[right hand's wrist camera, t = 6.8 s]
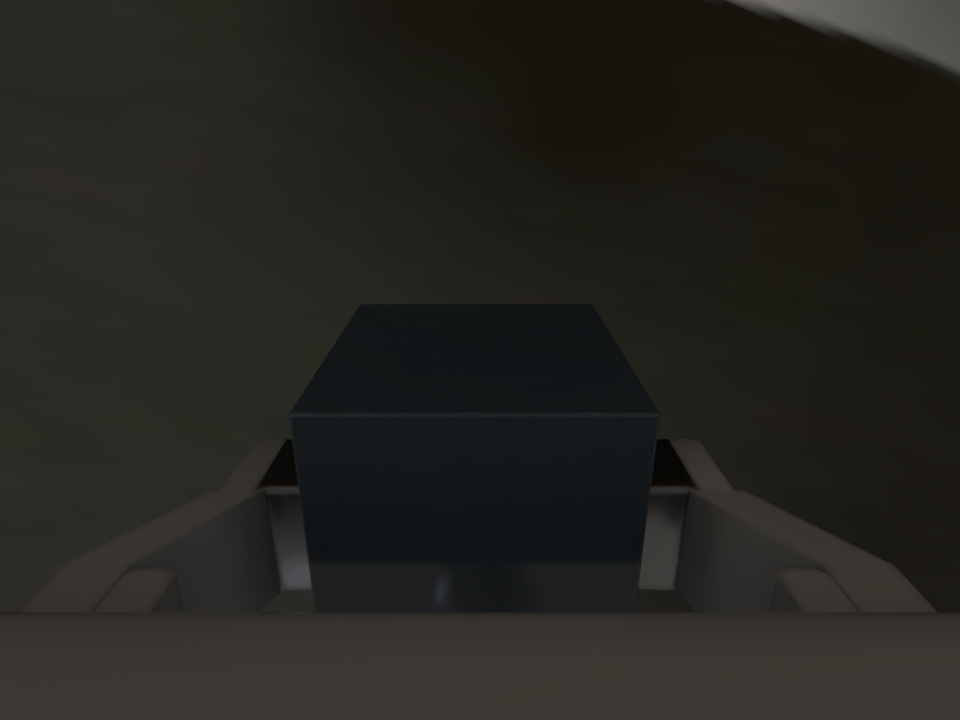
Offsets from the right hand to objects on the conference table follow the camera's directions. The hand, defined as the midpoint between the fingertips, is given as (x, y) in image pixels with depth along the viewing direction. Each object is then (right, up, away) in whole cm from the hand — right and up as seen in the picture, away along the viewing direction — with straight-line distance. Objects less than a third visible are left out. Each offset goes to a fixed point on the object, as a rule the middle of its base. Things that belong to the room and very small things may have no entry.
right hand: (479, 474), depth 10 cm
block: (0, +1, +2) cm, 2 cm away
